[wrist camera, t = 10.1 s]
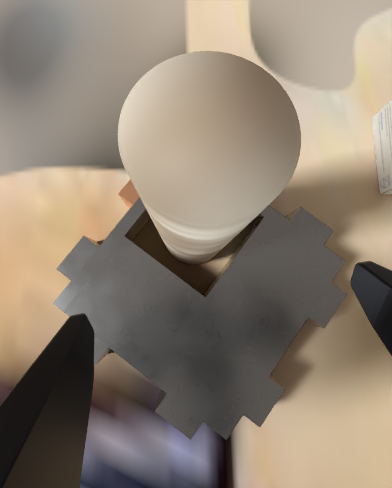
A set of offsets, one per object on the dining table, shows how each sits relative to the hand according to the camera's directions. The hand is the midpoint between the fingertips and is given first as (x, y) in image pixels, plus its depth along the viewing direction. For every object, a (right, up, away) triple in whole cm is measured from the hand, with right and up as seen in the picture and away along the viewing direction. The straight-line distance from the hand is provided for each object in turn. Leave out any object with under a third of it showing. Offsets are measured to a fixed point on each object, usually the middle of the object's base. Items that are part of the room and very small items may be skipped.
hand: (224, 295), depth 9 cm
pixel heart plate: (-1, -1, +11) cm, 11 cm away
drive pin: (-1, +2, +11) cm, 12 cm away
